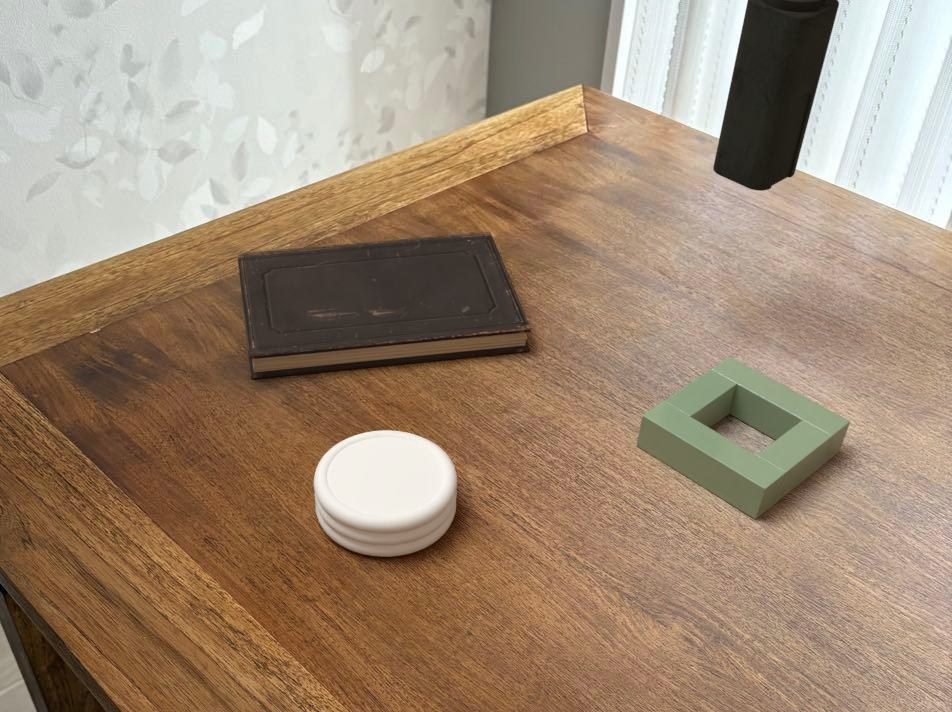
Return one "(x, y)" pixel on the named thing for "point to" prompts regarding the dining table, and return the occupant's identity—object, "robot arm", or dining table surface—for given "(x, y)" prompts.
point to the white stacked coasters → (385, 493)
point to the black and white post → (773, 89)
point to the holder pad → (728, 464)
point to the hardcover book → (378, 304)
